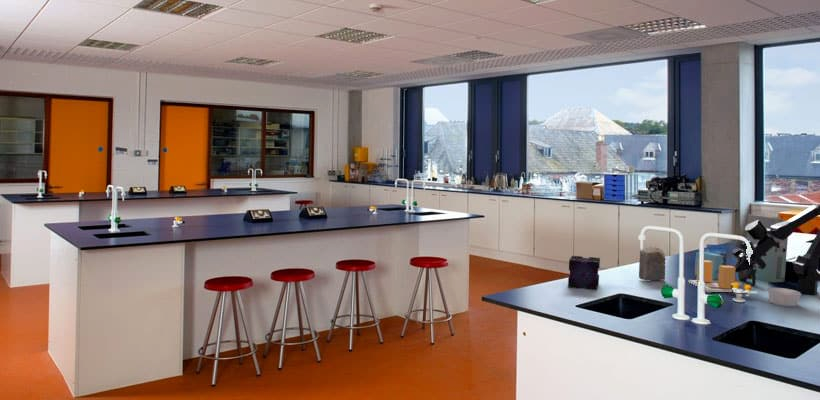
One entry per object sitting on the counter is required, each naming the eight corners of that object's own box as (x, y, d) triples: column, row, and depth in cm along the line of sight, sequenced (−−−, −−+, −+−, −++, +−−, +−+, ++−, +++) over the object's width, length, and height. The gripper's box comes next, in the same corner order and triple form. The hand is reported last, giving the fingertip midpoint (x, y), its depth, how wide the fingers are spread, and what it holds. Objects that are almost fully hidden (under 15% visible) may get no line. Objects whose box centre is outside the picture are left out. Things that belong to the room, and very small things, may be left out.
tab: (707, 280, 280) (708, 260, 280) (711, 282, 277) (713, 262, 276) (696, 279, 281) (697, 260, 280) (700, 281, 277) (701, 261, 276)
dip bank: (725, 283, 282) (725, 280, 282) (748, 293, 263) (748, 290, 263) (688, 282, 282) (688, 279, 282) (708, 292, 263) (708, 289, 263)
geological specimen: (646, 282, 281) (647, 249, 280) (637, 279, 287) (638, 247, 285) (665, 281, 284) (667, 248, 283) (656, 278, 290) (657, 246, 289)
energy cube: (567, 287, 267) (569, 259, 266) (570, 282, 278) (572, 255, 277) (596, 290, 263) (598, 262, 262) (598, 284, 274) (600, 257, 273)
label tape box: (707, 269, 317) (708, 245, 316) (704, 267, 321) (706, 244, 320) (725, 270, 315) (727, 246, 314) (723, 268, 319) (724, 244, 318)
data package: (721, 280, 289) (723, 255, 288) (714, 281, 287) (715, 255, 286) (701, 275, 300) (702, 251, 299) (694, 275, 298) (695, 251, 297)
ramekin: (796, 309, 239) (797, 295, 238) (764, 303, 246) (765, 290, 246) (802, 304, 247) (803, 291, 247) (770, 299, 255) (771, 286, 254)
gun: (744, 292, 290) (741, 271, 294) (760, 283, 275) (756, 261, 279) (738, 292, 290) (735, 271, 294) (753, 283, 276) (750, 261, 279)
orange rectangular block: (729, 286, 269) (730, 265, 268) (734, 288, 265) (735, 267, 264) (717, 286, 269) (719, 265, 268) (722, 288, 265) (723, 267, 264)
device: (784, 282, 289) (789, 218, 286) (771, 282, 287) (776, 218, 284) (756, 274, 305) (760, 214, 302) (743, 275, 303) (747, 214, 300)
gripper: (737, 230, 274) (710, 254, 275) (761, 237, 255) (732, 262, 256) (753, 249, 274) (727, 272, 275) (778, 256, 256) (749, 282, 257)
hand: (733, 272), depth 266 cm, fingers closed, pressing on orange rectangular block
